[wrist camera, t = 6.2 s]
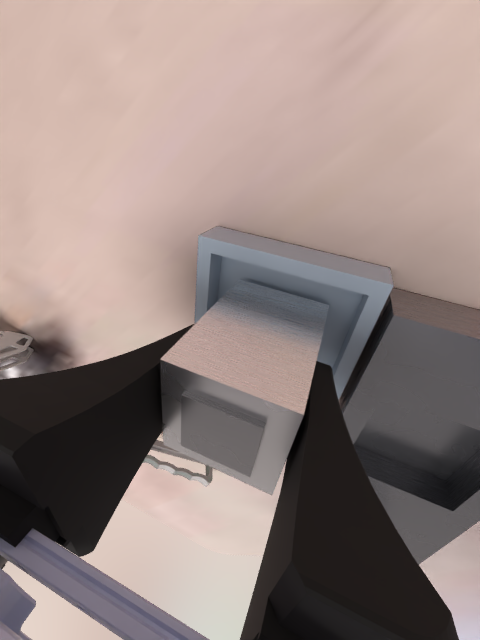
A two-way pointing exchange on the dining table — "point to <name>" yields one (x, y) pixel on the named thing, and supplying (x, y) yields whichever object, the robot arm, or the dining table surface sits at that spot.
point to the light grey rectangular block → (242, 382)
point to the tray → (298, 287)
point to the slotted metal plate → (420, 417)
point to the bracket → (8, 349)
